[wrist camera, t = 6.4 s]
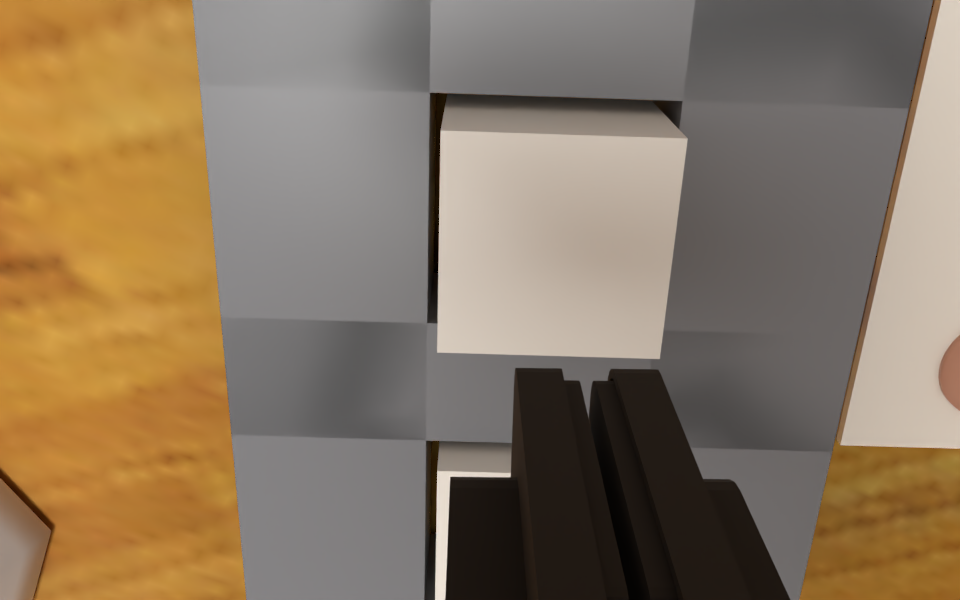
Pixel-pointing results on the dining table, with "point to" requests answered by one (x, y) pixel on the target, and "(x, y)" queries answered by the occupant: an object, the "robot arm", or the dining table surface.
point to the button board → (413, 284)
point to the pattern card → (916, 272)
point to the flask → (19, 547)
